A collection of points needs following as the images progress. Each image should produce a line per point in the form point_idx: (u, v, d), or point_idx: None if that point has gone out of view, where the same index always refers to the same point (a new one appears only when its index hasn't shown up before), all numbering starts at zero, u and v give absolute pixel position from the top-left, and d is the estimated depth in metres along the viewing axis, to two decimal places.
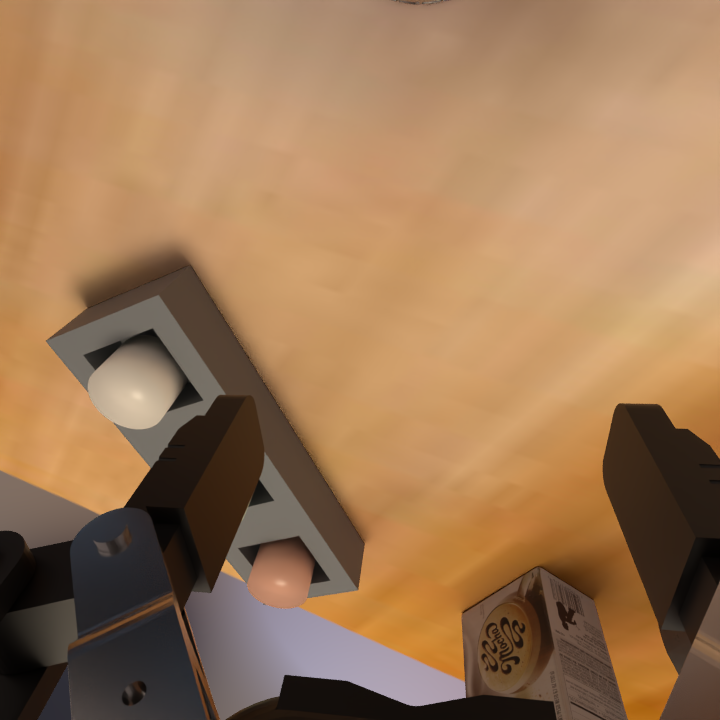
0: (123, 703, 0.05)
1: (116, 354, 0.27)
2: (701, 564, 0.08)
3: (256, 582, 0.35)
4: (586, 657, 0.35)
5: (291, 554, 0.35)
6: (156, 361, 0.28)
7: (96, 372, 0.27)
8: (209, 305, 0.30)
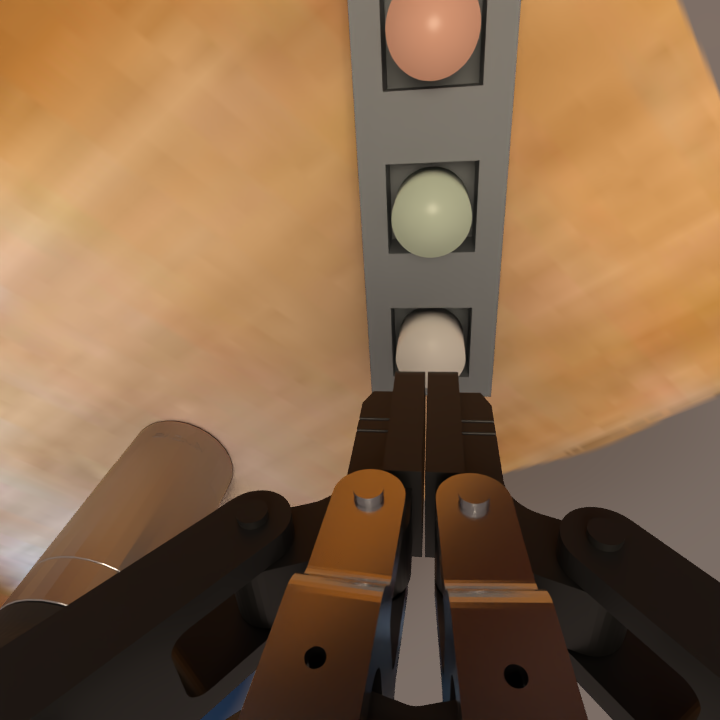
0: (304, 659, 0.06)
1: None
2: None
3: (455, 54, 0.23)
4: None
5: None
6: None
7: None
8: None
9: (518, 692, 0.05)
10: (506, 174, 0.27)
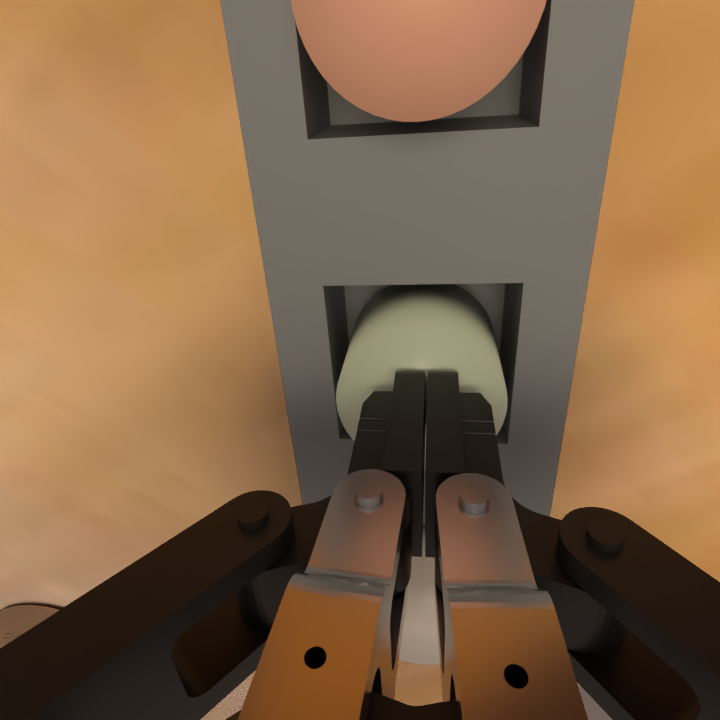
0: (304, 659, 0.06)
1: None
2: None
3: (479, 53, 0.09)
4: None
5: None
6: None
7: (435, 663, 0.18)
8: None
9: (519, 693, 0.05)
10: (580, 311, 0.13)
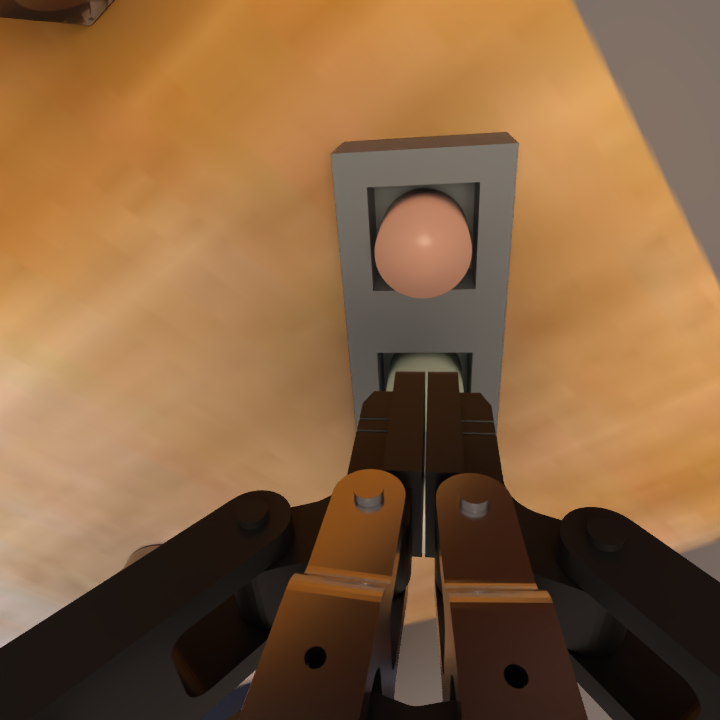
0: (303, 658, 0.06)
1: None
2: None
3: (446, 277, 0.23)
4: None
5: None
6: None
7: None
8: None
9: (517, 692, 0.05)
10: (500, 365, 0.27)
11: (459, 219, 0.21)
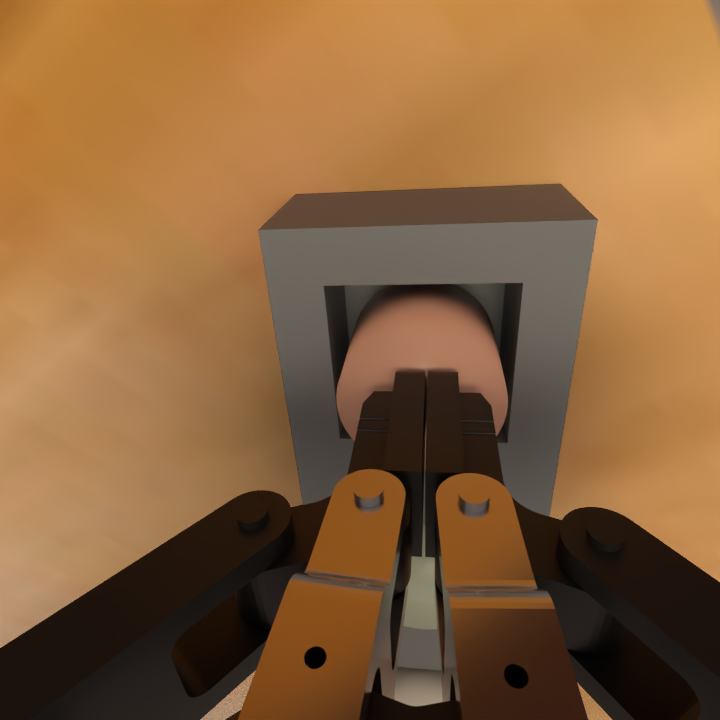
0: (304, 659, 0.06)
1: None
2: None
3: None
4: None
5: None
6: None
7: None
8: None
9: (518, 692, 0.05)
10: None
11: (487, 354, 0.12)
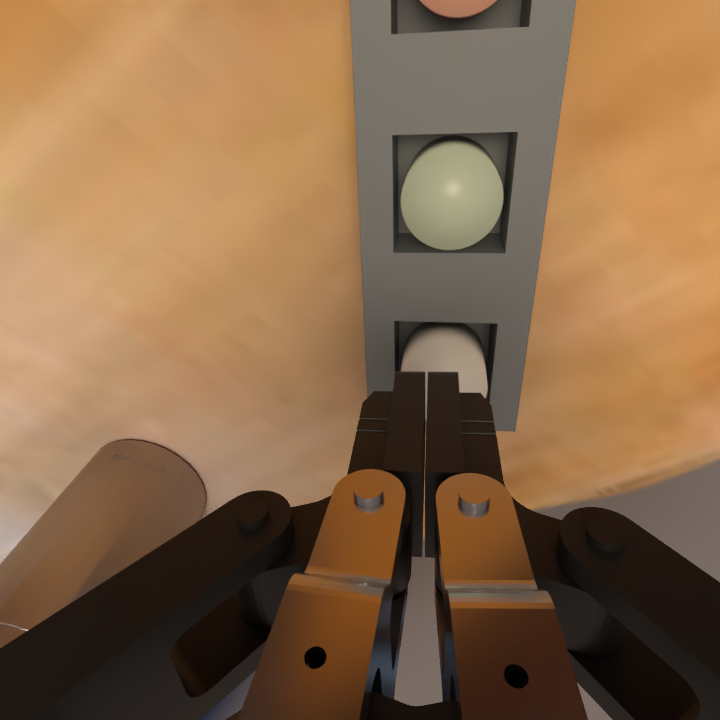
0: (304, 659, 0.06)
1: None
2: None
3: None
4: None
5: (419, 0, 0.19)
6: None
7: None
8: None
9: (518, 693, 0.05)
10: (553, 151, 0.21)
11: None
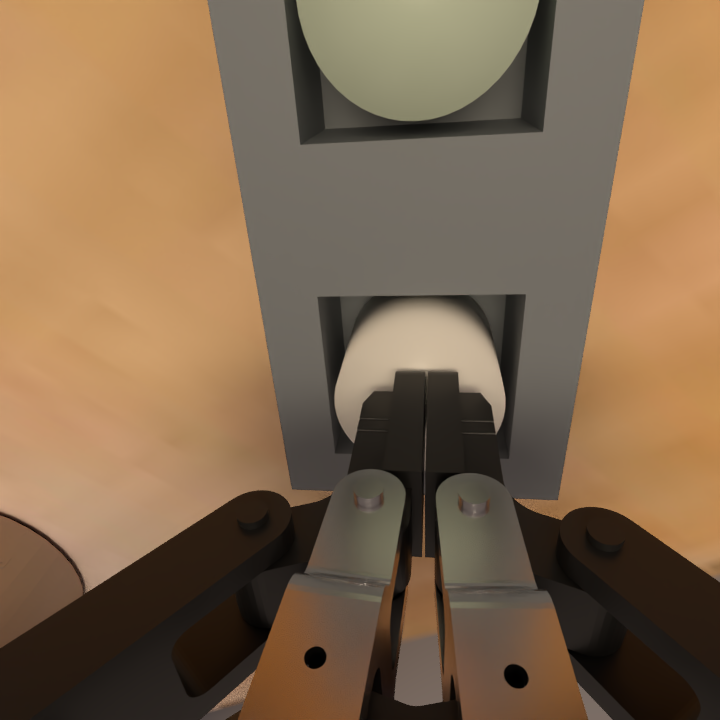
0: (304, 659, 0.06)
1: None
2: None
3: None
4: None
5: None
6: None
7: None
8: None
9: (519, 692, 0.05)
10: None
11: None
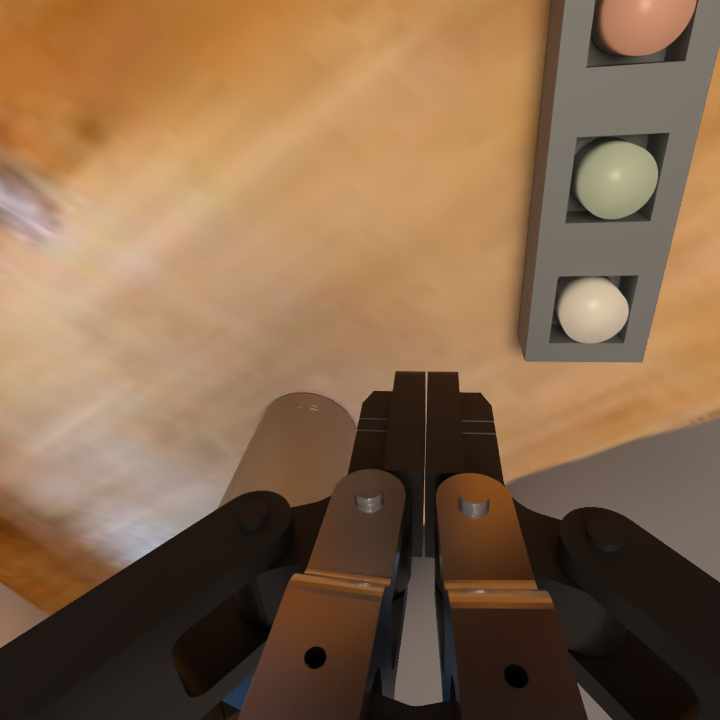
0: (304, 658, 0.06)
1: None
2: None
3: (667, 31, 0.26)
4: None
5: (605, 44, 0.28)
6: None
7: (597, 341, 0.35)
8: (521, 310, 0.39)
9: (517, 692, 0.05)
10: (693, 146, 0.29)
11: None
